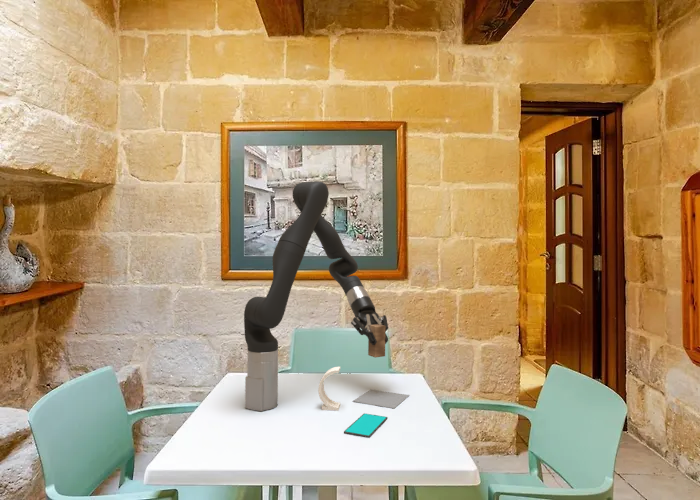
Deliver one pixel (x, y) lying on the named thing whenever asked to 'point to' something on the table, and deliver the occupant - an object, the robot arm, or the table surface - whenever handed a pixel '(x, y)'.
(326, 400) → the headphone stand
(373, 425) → the smartphone
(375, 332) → the walnut block
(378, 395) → the mat
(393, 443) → the table surface
